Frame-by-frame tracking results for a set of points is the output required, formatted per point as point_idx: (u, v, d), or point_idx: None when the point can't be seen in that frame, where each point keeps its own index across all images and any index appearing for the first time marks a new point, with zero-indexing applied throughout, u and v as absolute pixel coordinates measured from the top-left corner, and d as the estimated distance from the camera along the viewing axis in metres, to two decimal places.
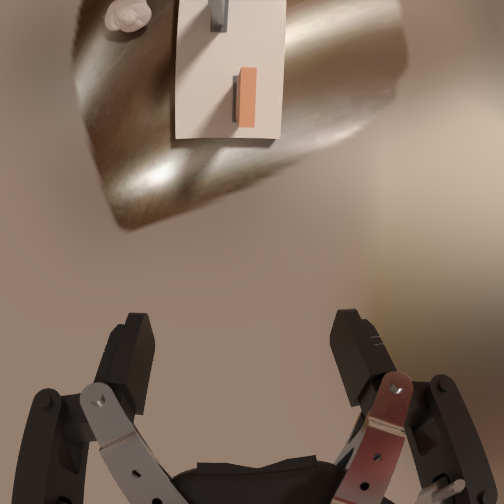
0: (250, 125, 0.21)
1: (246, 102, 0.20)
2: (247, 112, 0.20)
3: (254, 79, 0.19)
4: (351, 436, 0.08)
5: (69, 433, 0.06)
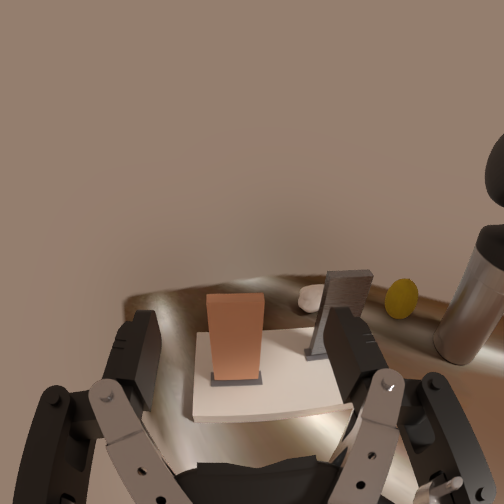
0: (208, 300, 0.24)
1: (230, 297, 0.25)
2: (220, 298, 0.24)
3: (252, 300, 0.24)
4: (344, 434, 0.08)
5: (76, 430, 0.06)
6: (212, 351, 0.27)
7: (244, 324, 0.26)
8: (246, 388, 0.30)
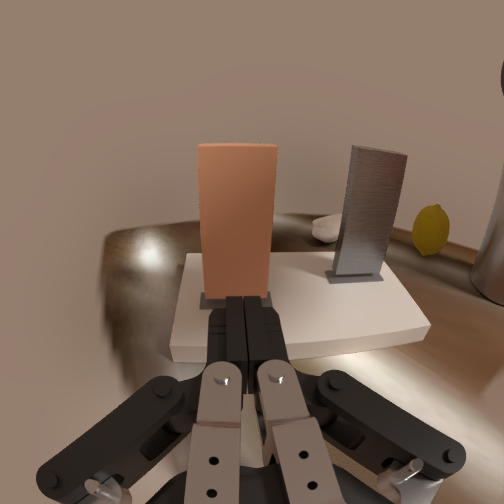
0: (200, 145, 0.17)
1: (230, 144, 0.17)
2: (217, 144, 0.17)
3: (261, 146, 0.17)
4: (261, 437, 0.08)
5: (169, 425, 0.07)
6: (202, 239, 0.20)
7: (249, 187, 0.18)
8: None
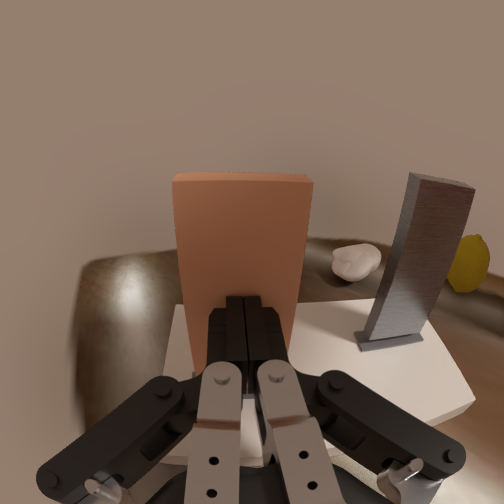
0: (177, 178, 0.10)
1: (230, 175, 0.10)
2: (207, 176, 0.10)
3: (285, 180, 0.10)
4: (261, 437, 0.08)
5: (169, 425, 0.07)
6: (189, 323, 0.13)
7: (262, 250, 0.11)
8: None
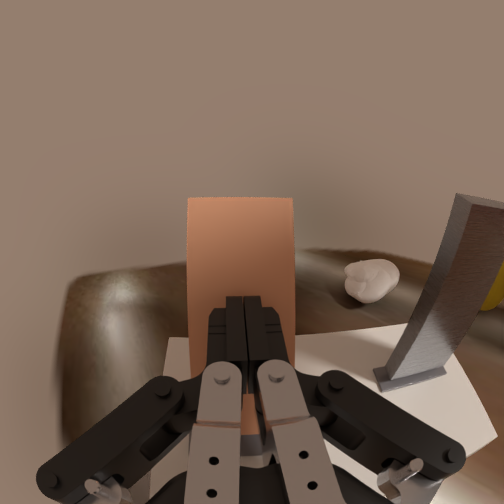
0: None
1: None
2: None
3: (271, 198, 0.14)
4: (261, 437, 0.08)
5: (169, 425, 0.07)
6: (191, 337, 0.13)
7: (258, 255, 0.13)
8: None
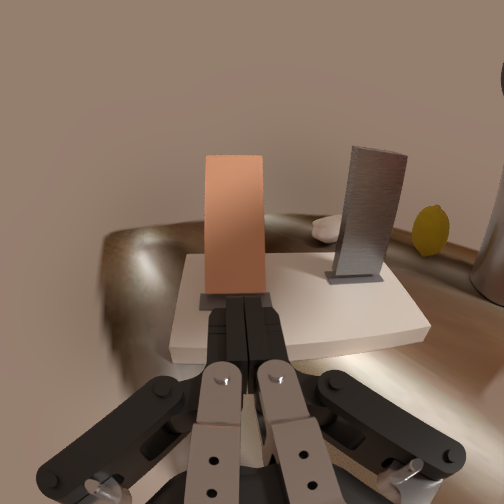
0: None
1: None
2: None
3: (250, 156, 0.25)
4: (261, 437, 0.08)
5: (169, 425, 0.07)
6: (206, 227, 0.24)
7: (243, 184, 0.24)
8: None
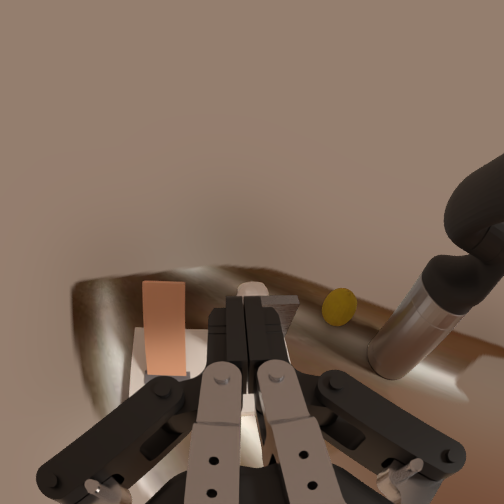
0: (144, 281, 0.31)
1: (160, 281, 0.32)
2: (153, 281, 0.32)
3: (176, 283, 0.32)
4: (261, 437, 0.08)
5: (169, 425, 0.07)
6: (145, 335, 0.31)
7: (170, 306, 0.32)
8: None
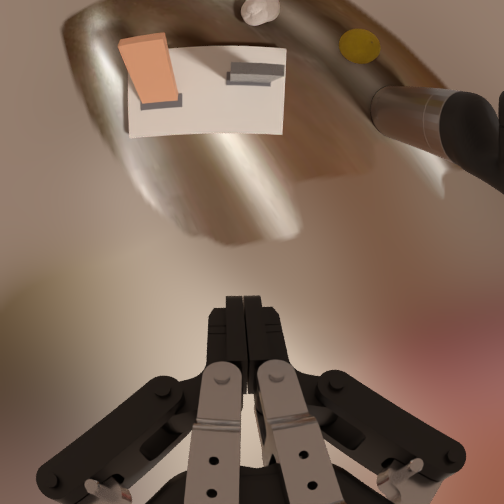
0: (119, 44, 0.21)
1: (137, 39, 0.21)
2: (129, 40, 0.21)
3: (153, 39, 0.21)
4: (261, 437, 0.08)
5: (169, 425, 0.07)
6: (133, 80, 0.27)
7: (151, 57, 0.24)
8: (169, 110, 0.35)
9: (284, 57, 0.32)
